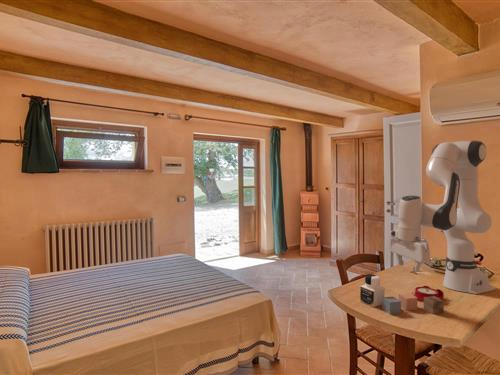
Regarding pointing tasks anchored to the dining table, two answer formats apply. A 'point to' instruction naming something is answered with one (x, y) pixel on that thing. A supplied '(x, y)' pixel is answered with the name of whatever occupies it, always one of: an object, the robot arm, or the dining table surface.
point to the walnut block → (433, 305)
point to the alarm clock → (427, 293)
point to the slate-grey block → (391, 305)
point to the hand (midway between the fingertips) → (408, 268)
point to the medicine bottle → (372, 291)
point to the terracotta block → (408, 301)
